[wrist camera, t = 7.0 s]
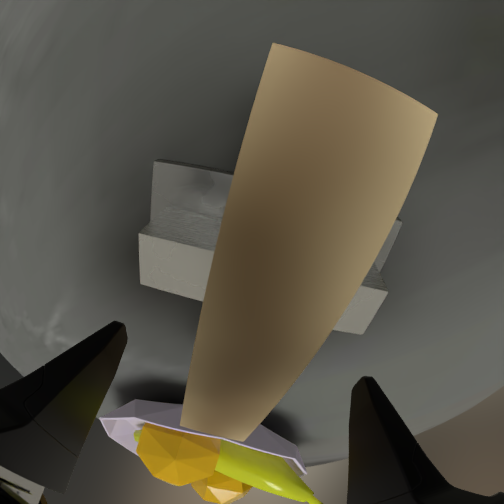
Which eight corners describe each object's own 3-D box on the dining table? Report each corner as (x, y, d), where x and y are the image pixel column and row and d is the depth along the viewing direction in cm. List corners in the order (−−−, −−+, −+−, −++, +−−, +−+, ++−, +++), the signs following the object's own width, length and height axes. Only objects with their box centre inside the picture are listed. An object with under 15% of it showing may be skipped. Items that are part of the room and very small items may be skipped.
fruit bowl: (126, 423, 37) (106, 474, 27) (110, 339, 23) (59, 431, 13) (274, 465, 38) (268, 515, 29) (363, 409, 25) (370, 499, 15)
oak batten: (383, 109, 8) (438, 114, 4) (251, 391, 17) (243, 441, 14) (278, 69, 8) (272, 42, 4) (195, 376, 17) (179, 425, 13)
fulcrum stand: (399, 218, 14) (427, 252, 10) (349, 319, 18) (357, 363, 14) (158, 158, 14) (120, 178, 10) (153, 274, 18) (128, 312, 14)
